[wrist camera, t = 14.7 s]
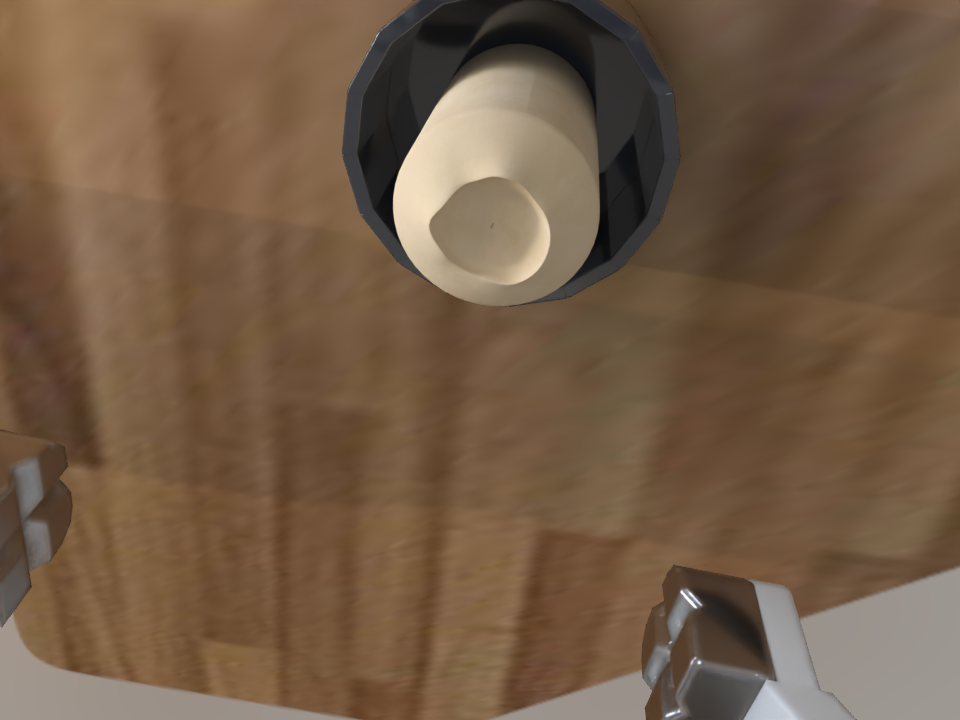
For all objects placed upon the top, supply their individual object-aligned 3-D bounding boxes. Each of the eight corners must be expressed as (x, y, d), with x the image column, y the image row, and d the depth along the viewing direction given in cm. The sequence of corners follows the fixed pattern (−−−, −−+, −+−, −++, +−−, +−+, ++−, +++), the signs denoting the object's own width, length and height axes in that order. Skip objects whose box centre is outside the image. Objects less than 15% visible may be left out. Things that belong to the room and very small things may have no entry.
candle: (424, 172, 31) (362, 297, 22) (462, 19, 28) (408, 97, 19) (567, 216, 31) (559, 356, 23) (620, 69, 28) (633, 167, 20)
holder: (364, 215, 33) (331, 270, 28) (395, -75, 27) (360, -60, 23) (621, 268, 33) (626, 332, 28) (704, -11, 27) (725, 16, 23)
